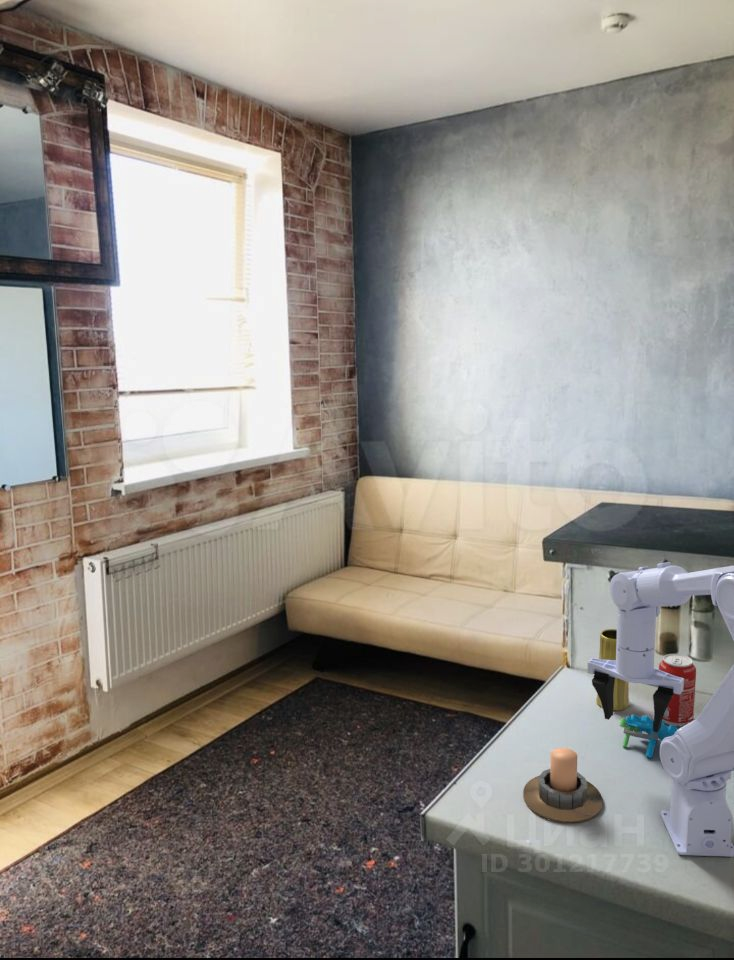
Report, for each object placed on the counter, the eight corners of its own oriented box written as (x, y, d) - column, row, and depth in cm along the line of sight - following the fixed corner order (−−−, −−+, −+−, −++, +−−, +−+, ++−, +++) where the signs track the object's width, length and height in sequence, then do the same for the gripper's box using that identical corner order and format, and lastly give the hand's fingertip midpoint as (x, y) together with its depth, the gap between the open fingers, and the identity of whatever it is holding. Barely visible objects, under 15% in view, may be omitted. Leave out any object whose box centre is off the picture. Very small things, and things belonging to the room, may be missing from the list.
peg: (578, 803, 119) (578, 762, 118) (551, 802, 120) (551, 761, 119) (574, 788, 123) (575, 748, 122) (549, 787, 124) (549, 747, 122)
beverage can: (660, 708, 148) (662, 649, 145) (695, 716, 145) (699, 656, 142) (653, 723, 143) (656, 663, 140) (690, 731, 139) (693, 670, 137)
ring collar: (609, 824, 115) (610, 805, 115) (527, 822, 117) (527, 803, 116) (594, 777, 127) (594, 760, 126) (519, 775, 128) (520, 758, 128)
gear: (695, 740, 134) (675, 717, 128) (688, 774, 131) (666, 752, 125) (634, 727, 141) (612, 705, 135) (626, 759, 139) (603, 738, 133)
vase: (633, 710, 147) (636, 640, 145) (601, 711, 147) (603, 641, 144) (622, 694, 153) (625, 627, 150) (592, 696, 153) (593, 628, 150)
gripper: (690, 644, 121) (685, 723, 124) (598, 626, 130) (596, 701, 132) (678, 661, 116) (674, 744, 119) (583, 641, 124) (581, 719, 127)
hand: (632, 722), depth 125 cm, fingers open, 7 cm apart
